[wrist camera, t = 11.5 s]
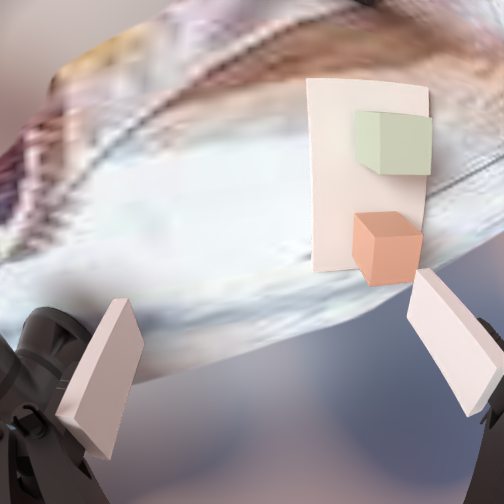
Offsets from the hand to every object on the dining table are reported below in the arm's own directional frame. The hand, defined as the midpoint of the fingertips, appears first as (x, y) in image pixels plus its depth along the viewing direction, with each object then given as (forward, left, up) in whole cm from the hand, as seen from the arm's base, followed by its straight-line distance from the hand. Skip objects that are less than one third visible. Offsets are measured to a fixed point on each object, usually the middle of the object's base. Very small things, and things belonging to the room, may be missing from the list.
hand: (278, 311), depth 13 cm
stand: (+12, 0, -22) cm, 25 cm away
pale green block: (+12, +5, -20) cm, 24 cm away
